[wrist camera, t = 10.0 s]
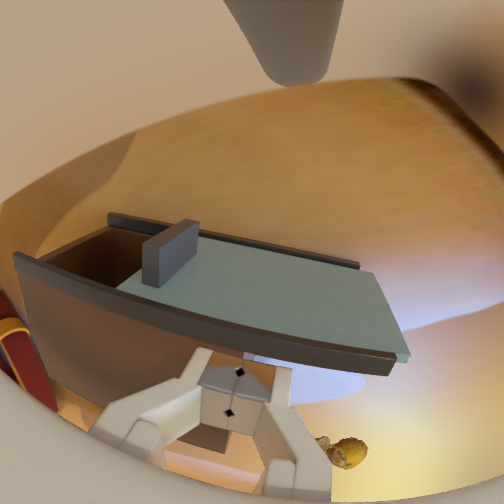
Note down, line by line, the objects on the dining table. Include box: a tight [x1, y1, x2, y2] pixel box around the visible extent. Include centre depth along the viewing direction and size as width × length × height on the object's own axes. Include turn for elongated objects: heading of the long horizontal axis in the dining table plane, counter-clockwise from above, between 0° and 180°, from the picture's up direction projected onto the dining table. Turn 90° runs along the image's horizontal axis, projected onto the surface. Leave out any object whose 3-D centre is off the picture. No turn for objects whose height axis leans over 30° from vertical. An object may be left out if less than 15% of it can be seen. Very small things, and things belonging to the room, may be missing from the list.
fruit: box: [315, 436, 368, 470], centre depth 31 cm, size 8×8×4 cm
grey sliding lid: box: [116, 219, 411, 363], centre depth 18 cm, size 3×16×11 cm, turn 81°
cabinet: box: [13, 212, 397, 454], centre depth 21 cm, size 12×25×13 cm, turn 81°
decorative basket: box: [0, 290, 58, 413], centre depth 36 cm, size 34×29×15 cm
